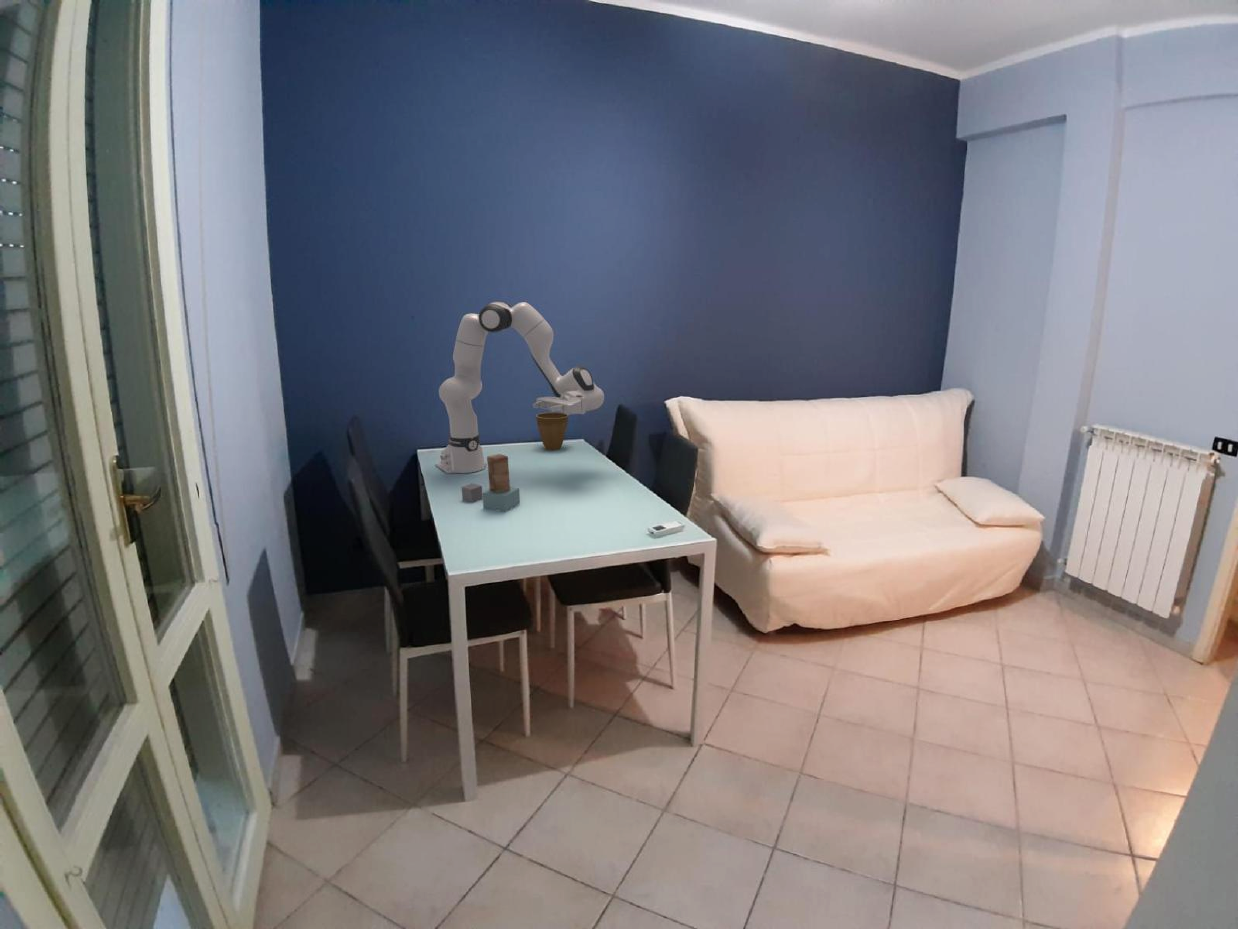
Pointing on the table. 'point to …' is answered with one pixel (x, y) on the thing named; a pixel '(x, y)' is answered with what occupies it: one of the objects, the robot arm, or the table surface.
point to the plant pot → (552, 429)
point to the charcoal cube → (472, 493)
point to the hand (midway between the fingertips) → (542, 407)
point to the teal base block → (501, 499)
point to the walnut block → (498, 473)
